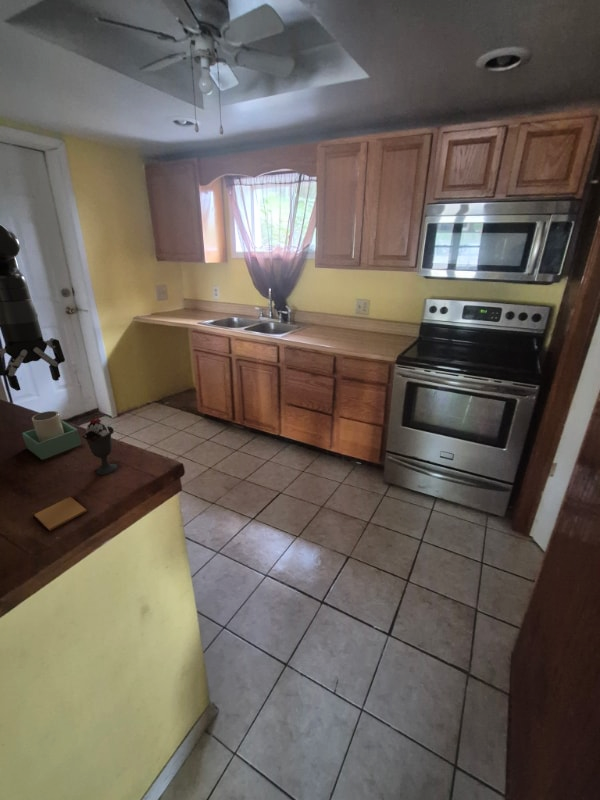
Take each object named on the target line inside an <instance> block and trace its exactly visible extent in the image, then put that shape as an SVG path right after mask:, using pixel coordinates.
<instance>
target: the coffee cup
mask: <svg viewBox="0 0 600 800" xmlns="http://www.w3.org/2000/svg"><path fill="white" fill-rule="evenodd" d="M61 420H62V419H61V416H60V413H59V411H56V410H48V411H43V412H39V413H37V414H34V415H33V416H32V417H31V421H32V425H33V429H35V432H36V435H37V438H38V441H39V443H40V442H43V441H45V440H48V439H51V438H54V437H56V436H59V435H62V434H65V433H64V429H63V426H62V422H61Z"/></svg>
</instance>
